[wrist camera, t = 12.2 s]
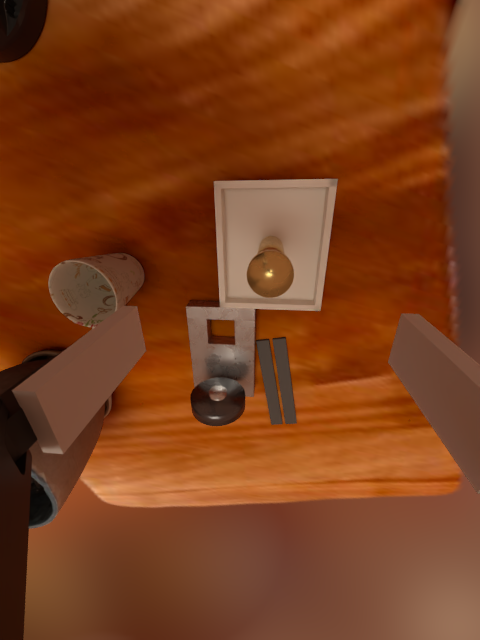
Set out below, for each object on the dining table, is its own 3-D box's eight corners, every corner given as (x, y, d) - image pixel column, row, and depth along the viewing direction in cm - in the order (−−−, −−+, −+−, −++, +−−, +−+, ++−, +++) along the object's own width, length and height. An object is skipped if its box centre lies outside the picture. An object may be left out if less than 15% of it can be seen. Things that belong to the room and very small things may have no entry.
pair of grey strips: (256, 340, 42) (256, 341, 42) (285, 337, 41) (285, 338, 41) (271, 422, 49) (271, 424, 49) (296, 421, 49) (296, 423, 48)
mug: (151, 249, 38) (114, 266, 29) (153, 326, 43) (121, 360, 34) (96, 240, 38) (41, 254, 29) (104, 317, 44) (60, 350, 35)
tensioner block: (190, 300, 40) (164, 334, 30) (255, 302, 39) (250, 338, 29) (199, 383, 47) (179, 433, 37) (254, 386, 46) (249, 439, 36)
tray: (217, 181, 33) (213, 181, 31) (333, 179, 31) (337, 178, 29) (222, 301, 40) (219, 307, 38) (317, 304, 38) (320, 310, 36)
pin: (255, 231, 34) (246, 251, 23) (288, 231, 34) (295, 251, 22) (255, 263, 36) (246, 297, 25) (286, 264, 36) (292, 298, 24)
